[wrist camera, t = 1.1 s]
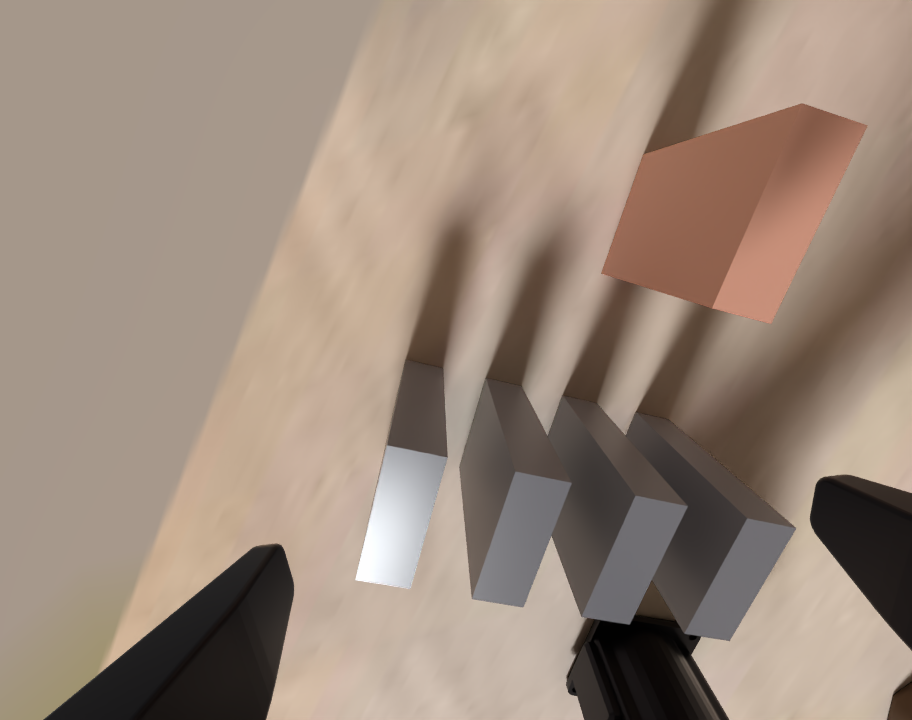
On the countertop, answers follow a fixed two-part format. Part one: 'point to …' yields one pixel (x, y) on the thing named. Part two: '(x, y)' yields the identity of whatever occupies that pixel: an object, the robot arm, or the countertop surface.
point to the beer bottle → (902, 704)
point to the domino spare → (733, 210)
